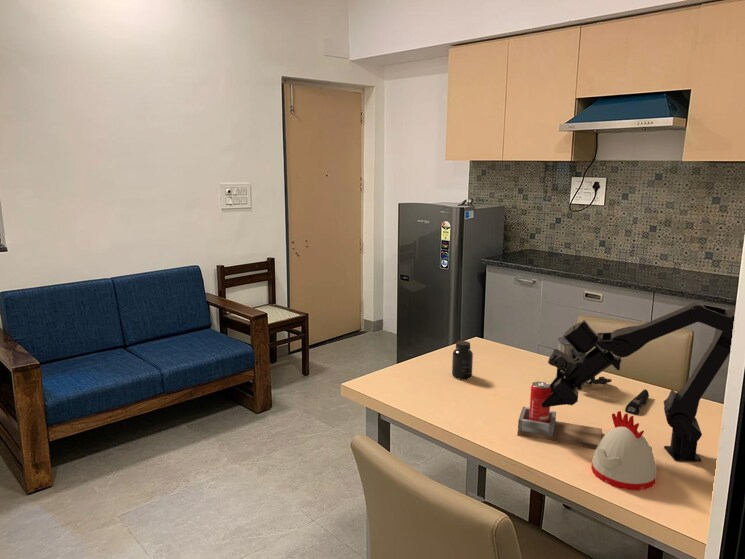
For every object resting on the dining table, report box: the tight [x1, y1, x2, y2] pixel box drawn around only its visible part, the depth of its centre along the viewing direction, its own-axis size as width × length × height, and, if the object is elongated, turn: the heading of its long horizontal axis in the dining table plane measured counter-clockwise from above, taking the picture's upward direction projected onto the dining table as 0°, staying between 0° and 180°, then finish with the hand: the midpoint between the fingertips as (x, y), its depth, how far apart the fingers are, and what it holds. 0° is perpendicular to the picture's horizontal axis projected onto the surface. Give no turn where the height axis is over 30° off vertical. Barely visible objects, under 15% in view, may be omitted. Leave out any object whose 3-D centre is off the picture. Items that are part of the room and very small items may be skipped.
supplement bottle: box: [451, 340, 474, 380], centre depth 192 cm, size 7×7×12 cm
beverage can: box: [529, 381, 551, 423], centre depth 153 cm, size 5×5×12 cm
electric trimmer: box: [624, 388, 650, 416], centre depth 171 cm, size 4×16×3 cm, turn 140°
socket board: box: [517, 406, 603, 450], centre depth 153 cm, size 21×10×4 cm, turn 68°
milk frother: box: [555, 336, 612, 389], centre depth 185 cm, size 14×16×15 cm
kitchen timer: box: [591, 410, 657, 491], centre depth 132 cm, size 14×14×15 cm
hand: (544, 399), depth 153 cm, fingers open, 9 cm apart
